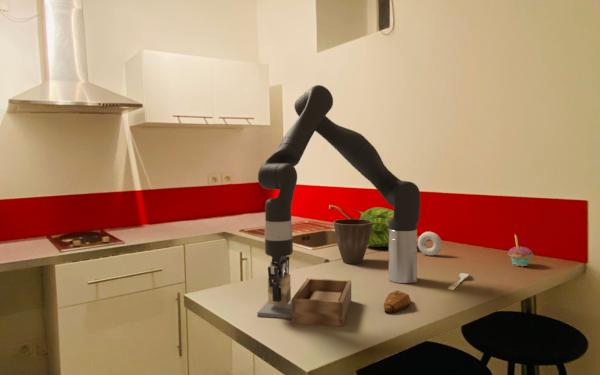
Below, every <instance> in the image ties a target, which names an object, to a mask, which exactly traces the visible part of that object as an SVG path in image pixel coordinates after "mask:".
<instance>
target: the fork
mask: <svg viewBox="0 0 600 375" xmlns="http://www.w3.org/2000/svg"><path fill="white" fill-rule="evenodd" d="M469 275H470V276H469ZM468 277H472V274H471V273H464V272H463V273H462V272H460V273H459V278H460V279H459V280H458V281H456V282H455V283H453V284H451V285H449V287H451V288H452V287H457V286H458V287H459V285H460V284H461V283H462V282H463V281H464V279H466V278H468ZM460 282H461V283H460ZM458 287H457V288H458Z"/></svg>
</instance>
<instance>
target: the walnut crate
mask: <svg viewBox="0 0 600 375" xmlns="http://www.w3.org/2000/svg"><path fill="white" fill-rule="evenodd" d="M351 303H352V280H349V279H348V280H347V279H326V278H323V279H322V278H306V280H305V281H304V282H303V283H302V284H301V286H300V287H299V289H298V290H297V292H296V293H294V295H293V297H291V311H292V317H291V324H302V325H303V324H305V325H317V326H332V327H334V326H335V327H344V324H345V321H346V318H347V315H348V312H349V310H350V306H351Z"/></svg>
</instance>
